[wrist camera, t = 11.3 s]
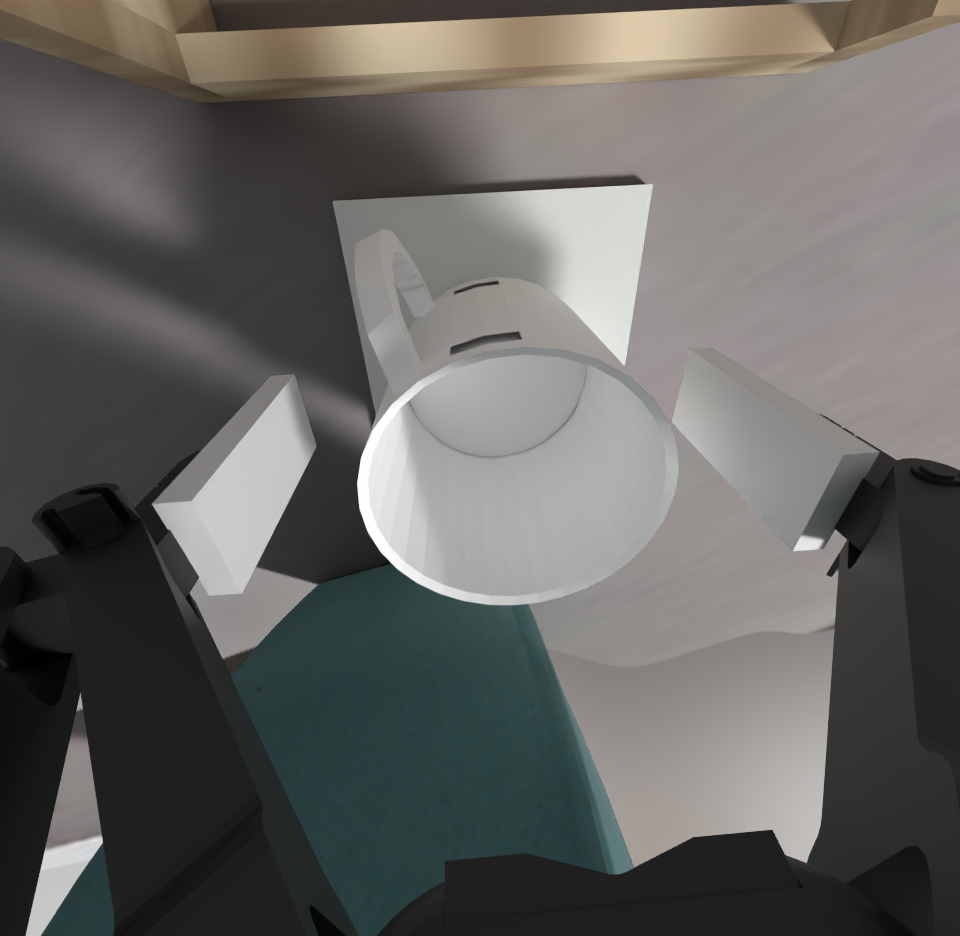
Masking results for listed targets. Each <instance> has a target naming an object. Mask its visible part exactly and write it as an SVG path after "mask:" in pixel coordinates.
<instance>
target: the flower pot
mask: <svg viewBox="0 0 960 936" xmlns="http://www.w3.org/2000/svg"><path fill="white" fill-rule="evenodd" d="M231 678H232V680H233V682H234V685H235V687H236V689H237V691H238V693H239V695H240V697H241V699H242V701H243V703H244V706H245V708H246V710H247V712H248V714H249V716H250V718H251V720H252V722H253V725H254V727H255V729H256V731H257V733H258V735H259V737H260V739H261V741H262V743H263V746H264V748H265V750H266V752H267V754H268V756H269V758H270V760H271V762H272V765H273V767H274V769H275V771H276V773H277V775H278V777H279V779H280V781H281V783H282V786H283V788H284V790H285V792H286V794H287V796H288V798H289V800H290V802H291V805H292V807H293V809H294V811H295V813H296V815H297V817H298V819H299V821H300V824H301V826H302V828H303V830H304V832H305V834H306V836H307V838H308V840H309V842H310V845H311V847H312V849H313V851H314V853H315V855H316V857H317V859H318V861H319V864H320V866H321V868H322V870H323V872H324V874H325V875H326V877H327V879H328V881H329V883H330V884H331V886H332V888H333V889H334V891H335V893H336V894H337V896H338V898H339V899H340V901H341V903H342V905H343V907H344V908H345V910H346V912H347V914H348V916H349V918H350V920H351V922H352V924H353V926H354V928H355V930H356V932H357V934H358V936H377V935H378V934H379V932H380V931H381V930H382V929H383V928H384V927H385V926H386V924H387V923H388V922H389V921H390V920H391V919H392V918H393V917H394V916H395V915H396V914H398V913H399V912H400V911H401V910H402V909H403V908H404V907H405V906H407V905H408V904H409V903H410V902H411V901H413V900H414V899H416V898H417V897H419V896H420V895H422V894H423V893H425V892H426V891H427V890H429V889H431V888H433V887H435V886H437V885H439V884H441V883H443V882H445V861H449V860H460V859H471V858H481V857H492V856H502V855H513V854H523V853H528V854H532V855H536V856H540V857H544V858H548V859H552V860H556V861H560V862H564V863H568V864H572V865H576V866H579V867H583V868H587V869H591V870H595V871H599V872H603V873H607V874H622V873H625V872H627V871H629V870H631V869H633V868H634V866H633V863H632V860H631V858H630V855H629V852H628V849H627V847H626V844H625V841H624V839H623V836H622V833H621V831H620V828H619V825H618V823H617V820H616V817H615V814H614V812H613V809H612V807H611V804H610V801H609V798H608V796H607V793H606V790H605V788H604V785H603V783H602V780H601V778H600V776H599V773H598V771H597V768H596V766H595V764H594V761H593V759H592V756H591V754H590V751H589V749H588V747H587V744H586V742H585V739H584V737H583V735H582V732H581V730H580V728H579V726H578V723H577V721H576V719H575V717H574V714H573V712H572V710H571V708H570V706H569V703H568V701H567V699H566V697H565V695H564V692H563V690H562V688H561V685H560V683H559V680H558V677H557V674H556V672H555V669H554V667H553V664H552V662H551V659H550V657H549V654H548V652H547V649H546V646H545V644H544V641H543V639H542V636H541V634H540V631H539V629H538V626H537V623H536V621H535V618H534V616H533V614H532V612H531V609H530V607H529V605H528V604H521V605H487V604H480V603H474V602H467V601H462V600H459V599H455V598H452V597H449V596H445V595H442V594H439V593H437V592H435V591H433V590H431V589H428V588H426V587H424V586H422V585H420V584H418V583H416V582H415V581H413V580H412V579H411V578H409V577H408V576H406V575H405V574H403V573H402V572H401V571H399V570H398V569H397V568H396V567H395V566H394V565H393V564H388V565H385V566H381V567H377V568H374V569H370V570H366V571H363V572H359V573H355V574H352V575H348V576H344V577H341V578H337V579H333V580H330V581H326V582H323V583H321V584H319V585H318V586H317V587H316V588H314V589H313V590H312V591H311V592H310V593H309V594H308V595H307V596H306V597H305V598H304V599H302V601H301V602H299V604H298V605H297V606H296V607H295V608H293V609H292V611H290V612H289V613H288V614H287V615H286V616H285V617H284V618H283V619H282V620H281V621H280V622H279V623H278V624H277V625H276V626H275V627H274V629H272V631H271V632H270V633H269V634H268V635H267V636H266V637H265V638H264V639H263V640H262V642H260V644H259V645H258V646H257V647H256V648H255V649H254V650H253V651H252V652H251V653H250V654H249V656H248V657H247V658H246V659H245V660H244V661H243V662H242V664H241V665H240V666H239V667H238V668H237V670H236V671H235V672H234V673H233V674H232V675H231ZM113 933H114V912H113V905H112V898H111V892H110V885H109V878H108V872H107V865H106V858H105V852H104V845H103V844H102V845H101V846H100V848H99V849H98V851H97V852H96V853H95V855H94V856H93V858H92V859H91V860H90V862H89V863H88V865H87V866H86V868H85V869H84V870H83V872H82V873H81V875H80V876H79V878H78V879H77V881H76V882H75V884H74V885H73V887H72V888H71V890H70V892H69V893H68V895H67V896H66V898H65V899H64V901H63V902H62V904H61V906H60V907H59V909H58V910H57V912H56V913H55V915H54V916H53V918H52V919H51V921H50V923H49V924H48V926H47V927H46V929H45V930H44V932H43V933H42V935H41V936H113Z"/></svg>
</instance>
